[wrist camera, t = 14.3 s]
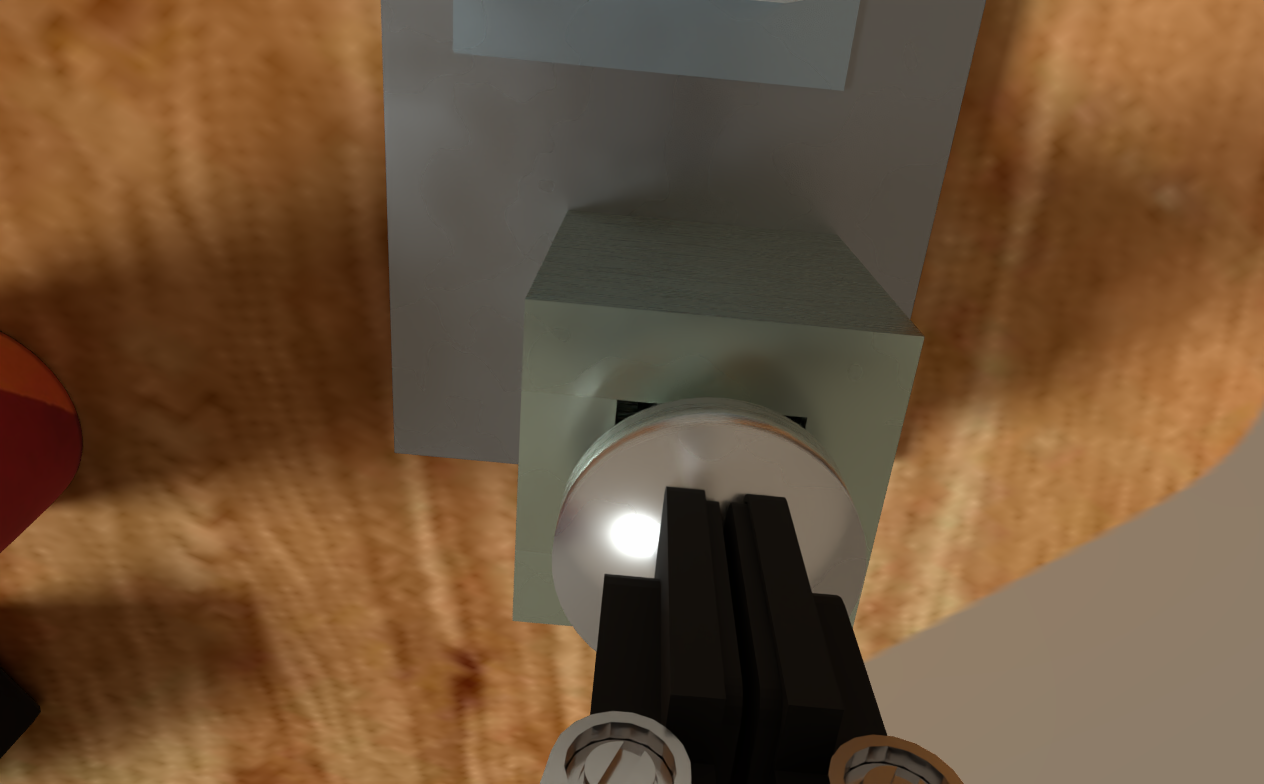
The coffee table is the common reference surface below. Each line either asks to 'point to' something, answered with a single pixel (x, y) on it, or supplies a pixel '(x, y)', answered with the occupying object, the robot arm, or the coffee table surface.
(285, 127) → the coffee table surface
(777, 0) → the block
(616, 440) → the pin
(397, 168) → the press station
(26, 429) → the coffee cup
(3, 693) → the electronic device
